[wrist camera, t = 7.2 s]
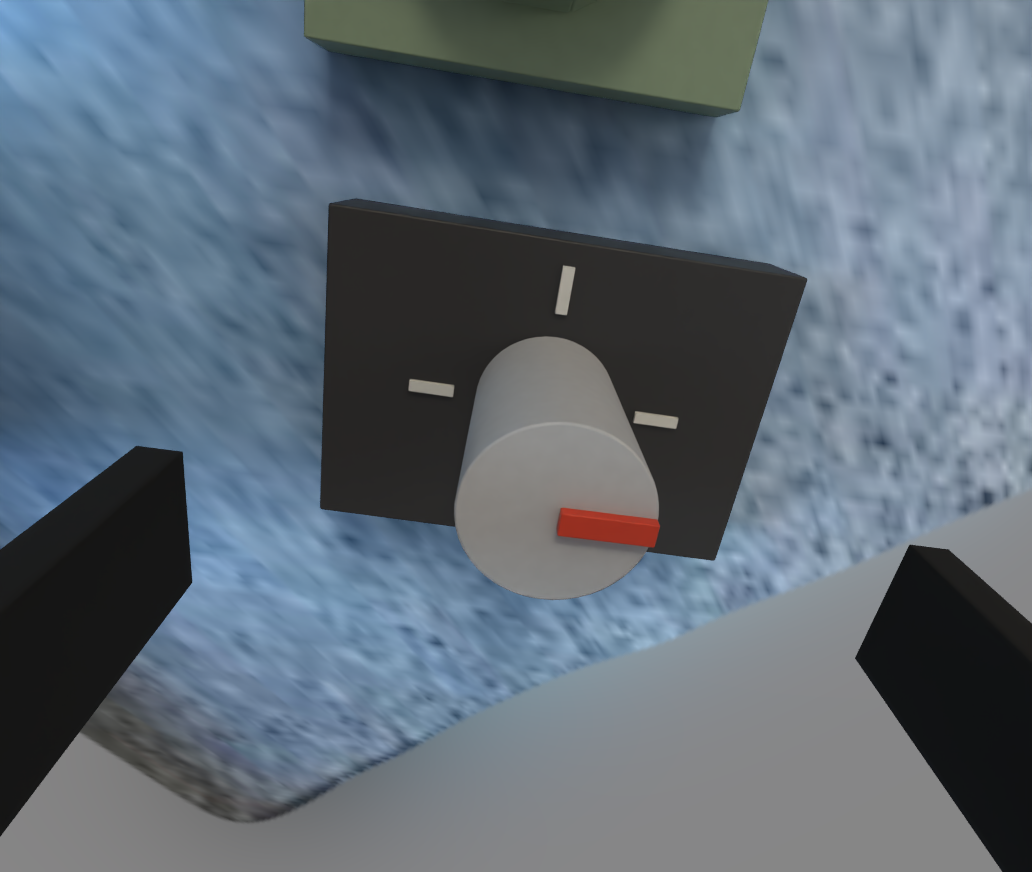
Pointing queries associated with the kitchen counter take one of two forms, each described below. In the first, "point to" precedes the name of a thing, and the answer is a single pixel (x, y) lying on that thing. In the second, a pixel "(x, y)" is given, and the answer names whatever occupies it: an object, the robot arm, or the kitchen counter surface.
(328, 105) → the kitchen counter surface
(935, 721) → the robot arm
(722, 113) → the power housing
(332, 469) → the panel
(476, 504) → the timer dial
